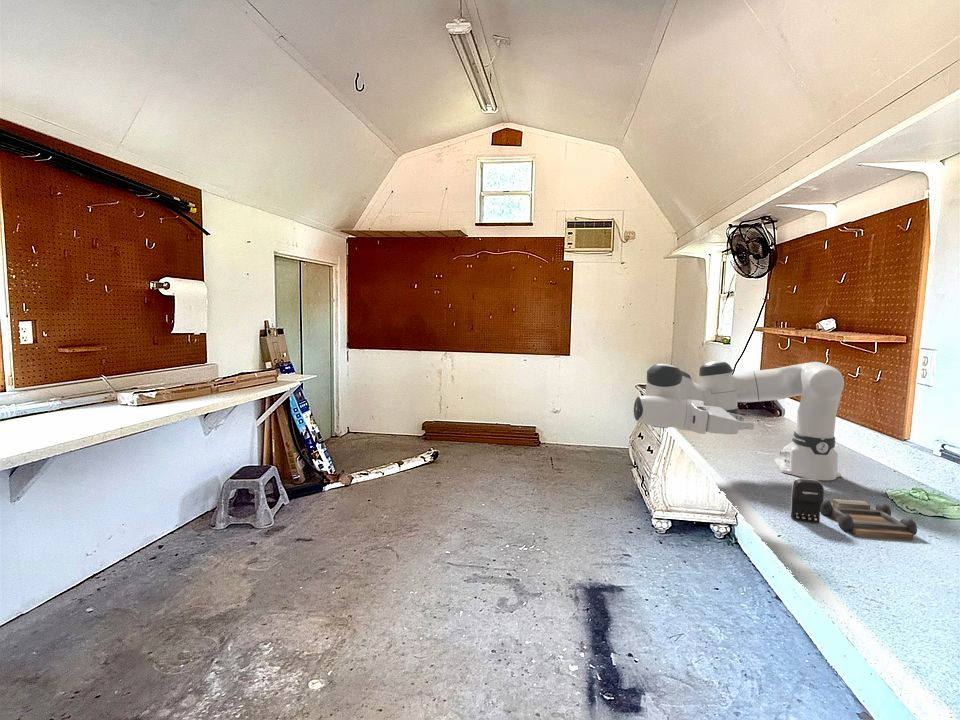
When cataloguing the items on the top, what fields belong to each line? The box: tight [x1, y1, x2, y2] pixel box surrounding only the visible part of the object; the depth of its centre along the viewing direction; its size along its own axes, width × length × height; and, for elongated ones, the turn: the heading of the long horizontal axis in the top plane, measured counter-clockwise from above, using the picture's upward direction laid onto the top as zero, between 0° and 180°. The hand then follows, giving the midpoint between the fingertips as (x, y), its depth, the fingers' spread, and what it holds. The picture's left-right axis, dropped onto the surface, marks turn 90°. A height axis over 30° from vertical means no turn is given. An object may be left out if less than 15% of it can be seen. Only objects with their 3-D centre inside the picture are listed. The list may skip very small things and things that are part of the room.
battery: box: [789, 477, 825, 524], centre depth 135 cm, size 7×4×11 cm, turn 72°
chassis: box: [820, 498, 918, 541], centre depth 134 cm, size 17×16×4 cm
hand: (748, 422), depth 137 cm, fingers open, 8 cm apart
